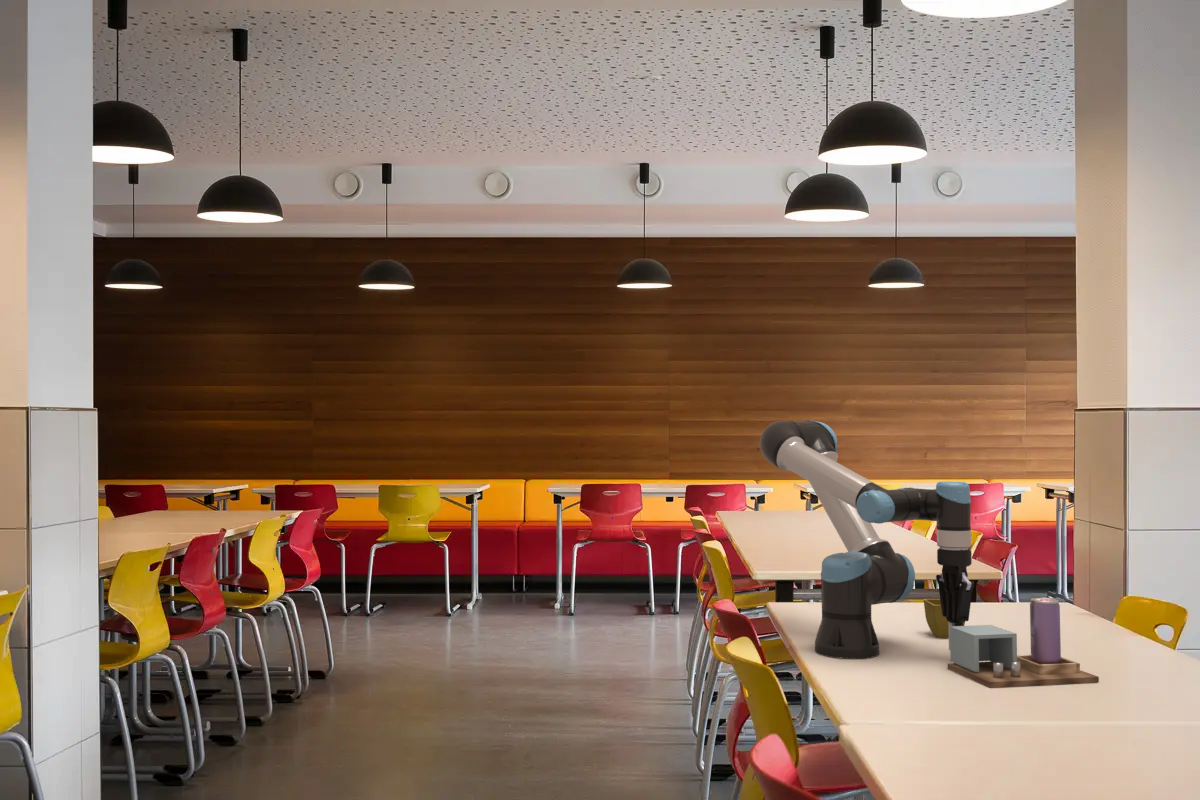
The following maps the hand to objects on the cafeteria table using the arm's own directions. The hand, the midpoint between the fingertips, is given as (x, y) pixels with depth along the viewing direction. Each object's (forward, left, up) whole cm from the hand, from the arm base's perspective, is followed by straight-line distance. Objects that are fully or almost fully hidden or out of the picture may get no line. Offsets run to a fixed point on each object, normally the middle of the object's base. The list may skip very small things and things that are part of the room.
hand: (955, 650), depth 228 cm
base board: (+6, -15, -2) cm, 17 cm away
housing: (0, -11, -1) cm, 11 cm away
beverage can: (+12, -15, -1) cm, 20 cm away
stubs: (0, -20, -1) cm, 20 cm away
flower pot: (+12, +26, -3) cm, 29 cm away
